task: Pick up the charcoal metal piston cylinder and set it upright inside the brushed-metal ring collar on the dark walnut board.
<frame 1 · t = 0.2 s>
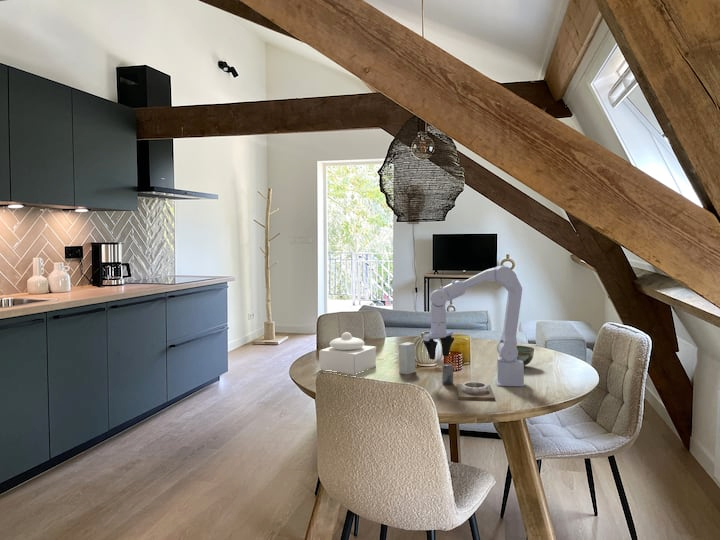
hand: (438, 357, 202), 10 cm above the table, fingers open, 7 cm apart
skincare box: (407, 373, 219), on the table
piston: (447, 383, 201), on the table
collar board: (474, 393, 188), on the table
bowl: (517, 367, 227), on the table
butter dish: (348, 369, 227), on the table
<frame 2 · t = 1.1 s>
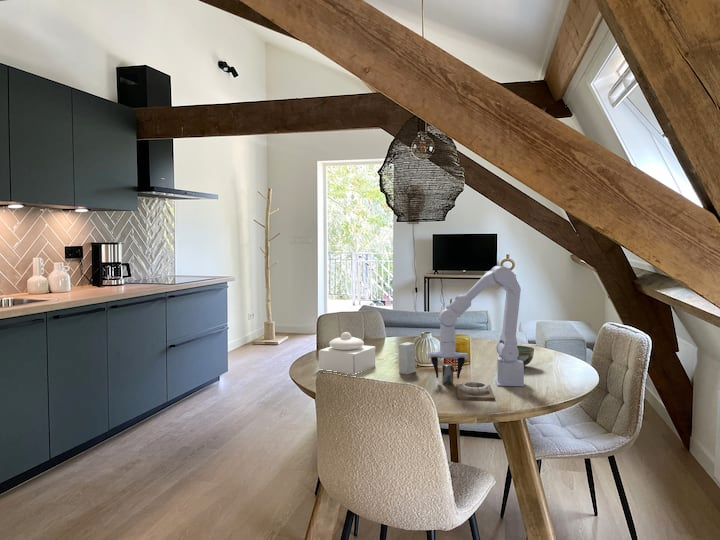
hand: (447, 377, 201), 2 cm above the table, fingers open, 7 cm apart
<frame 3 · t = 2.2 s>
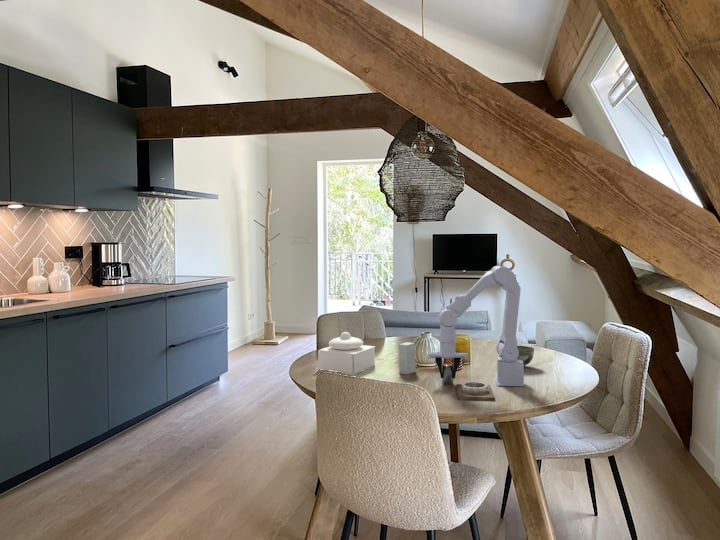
hand: (447, 377, 201), 2 cm above the table, fingers closed on piston, 4 cm apart
piston: (447, 383, 201), on the table, touching gripper
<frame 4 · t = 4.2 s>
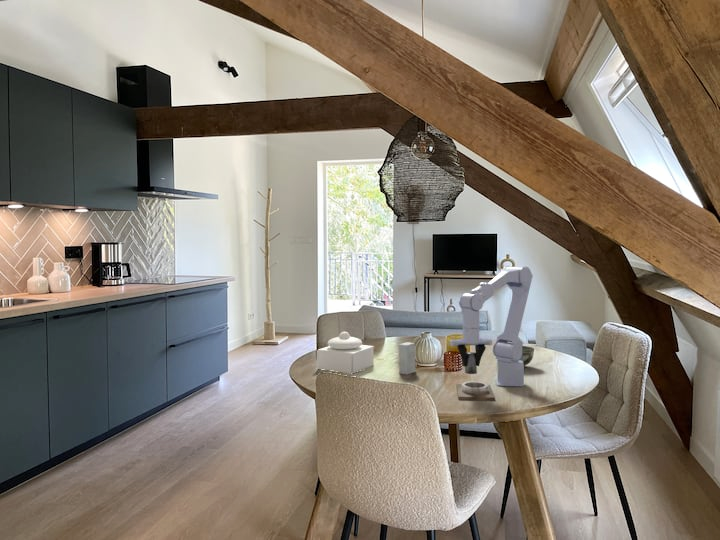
hand: (471, 365, 189), 9 cm above the table, fingers closed on piston, 4 cm apart
piston: (470, 372, 189), point 7 cm above the table, touching gripper
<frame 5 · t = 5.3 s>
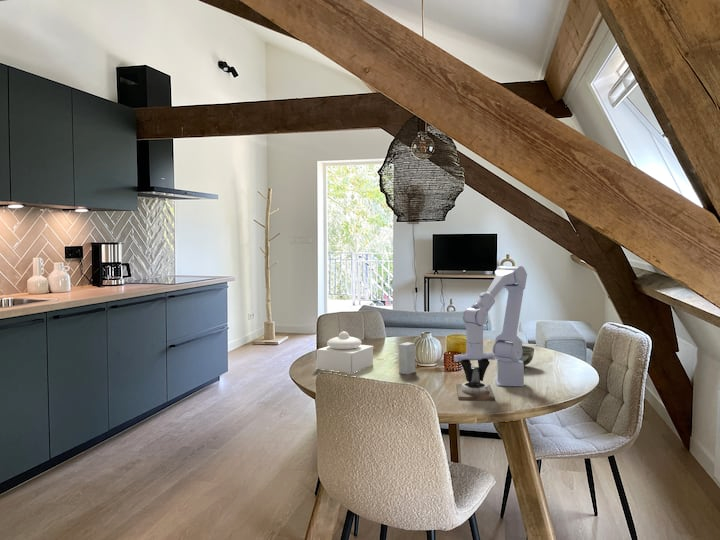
hand: (474, 380, 188), 4 cm above the table, fingers closed on piston, 4 cm apart
piston: (474, 387, 188), point 2 cm above the table, touching gripper
when the fingers open (4 cm above the table, at t = 6.2 s): piston stays where it is, resting on collar board.
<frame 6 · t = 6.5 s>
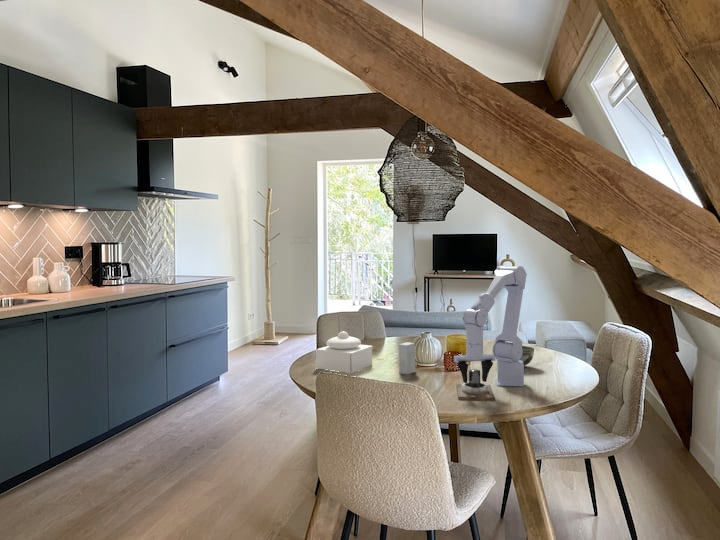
hand: (474, 381, 188), 4 cm above the table, fingers open, 6 cm apart
piston: (474, 390, 188), point 1 cm above the table, touching collar board
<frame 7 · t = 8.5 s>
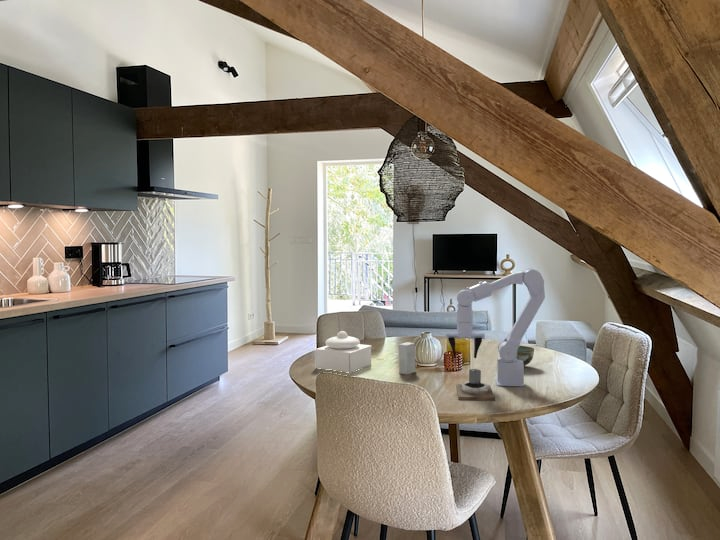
hand: (464, 357, 202), 9 cm above the table, fingers open, 7 cm apart
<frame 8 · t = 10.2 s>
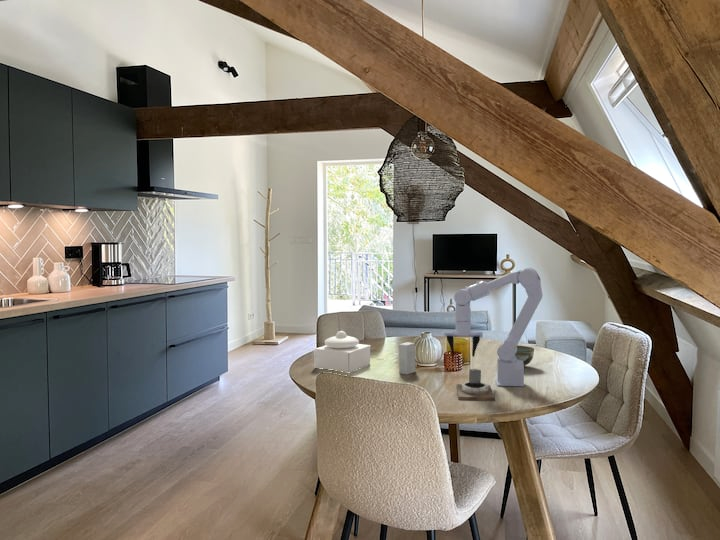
hand: (463, 355, 206), 9 cm above the table, fingers open, 7 cm apart
at the end: piston 0.2 cm off-centre on the collar board, point 1.1 cm above the collar board's base; piston tilted 3°; the gripper is holding nothing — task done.
